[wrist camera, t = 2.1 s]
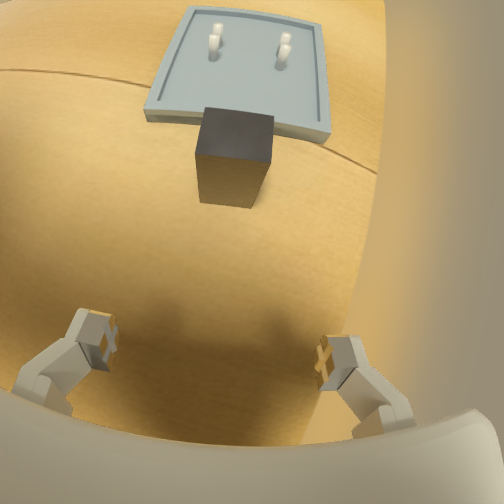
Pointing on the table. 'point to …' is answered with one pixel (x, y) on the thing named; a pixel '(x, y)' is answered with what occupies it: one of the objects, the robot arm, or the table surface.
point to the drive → (233, 156)
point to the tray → (244, 71)
